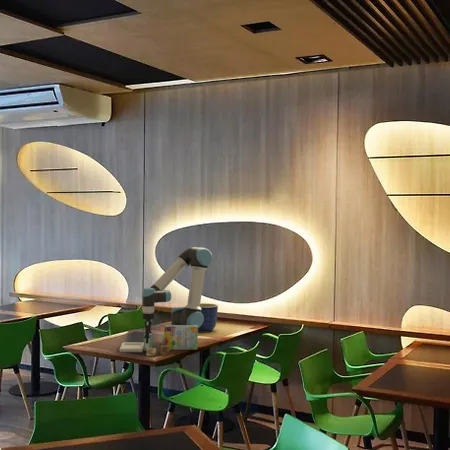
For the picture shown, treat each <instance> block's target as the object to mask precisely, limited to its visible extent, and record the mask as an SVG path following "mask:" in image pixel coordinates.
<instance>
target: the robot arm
mask: <svg viewBox="0 0 450 450" xmlns="http://www.w3.org/2000/svg"><path fill="white" fill-rule="evenodd" d="M212 261H213V254H212V252H211V251H210V250H209V249H208V248H206V247H198V246H197V247H196V246H192V247H191V246H190V247H189V248H186V249H185V250H184V251H183V252H181V253H180V254H179V255H178V256H177V257H176V261H174V262H173V264H172V265H170V267H169V268H168V269H167V270H165V272H163V274H162V275H160V277H159V278H158V279H157V280H156V281H155V282H154V283H153V284H152V285H151V286H150V287H146V288H143V289H142V306H141V310H142V320H145V321H144V329H145V331H144V333H145V337H144V336H143V339H144V338H145V348H149V339H150V338H149V333H152V332H153V331H151V327H152V320H154V319H155V305H156V304H157V303H167V302H170V301H172V293H171V291H170V290H166V288H168V286H169V285H170V284H171V282H173V281H174V280H175V279H176V278H177V276H178V275H179V274H180V273H182V271H183V270H184V269H187V268H189V267H190V268H191V275H190V284H189V291H188V296H187V304H186V305H185V306H176V307H175V306H174V307H172V308H171V313H170V314H171V318H170V319H171V320H170V321H171V322H170V323H171V324H170V325H198V328H199V327H200V326H201V325H202V323H203V321H204V316H203V314H202V313H201V311H202V309H201V307H200V303H202V302H201V300H202V294H203V286H204V281H205V280H204V279H205V272H206V271H207V270H208V268H209V266H210V264H211V263H212ZM152 334H153V333H152Z"/></svg>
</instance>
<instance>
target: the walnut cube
mask: <svg viewBox="0 0 450 450" xmlns="http://www.w3.org/2000/svg"><path fill="white" fill-rule="evenodd" d="M170 351H171V350H170V347H169V346H168V345H159V354H160V355H161V356H170V355H171V354H170Z"/></svg>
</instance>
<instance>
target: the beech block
mask: <svg viewBox="0 0 450 450" xmlns="http://www.w3.org/2000/svg"><path fill="white" fill-rule="evenodd" d="M156 355H157V348H155V347H152V348H148V349H147V351H146V356H147V357H155V356H156Z"/></svg>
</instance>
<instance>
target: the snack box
mask: <svg viewBox="0 0 450 450" xmlns="http://www.w3.org/2000/svg"><path fill="white" fill-rule="evenodd" d="M164 333H165V338H164V345H168V346H169V347H170V351H172V350H173V351H174V350H175V351H176V350H179V351H180V350H182V351H183V350H185V351H186V350H187V351H188V350H191V351H192V350H193V351H195V350H198V340H199V339H198V335H199V334H198V333H199V331H198V325H171V324H167V325H166V324H164Z"/></svg>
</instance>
